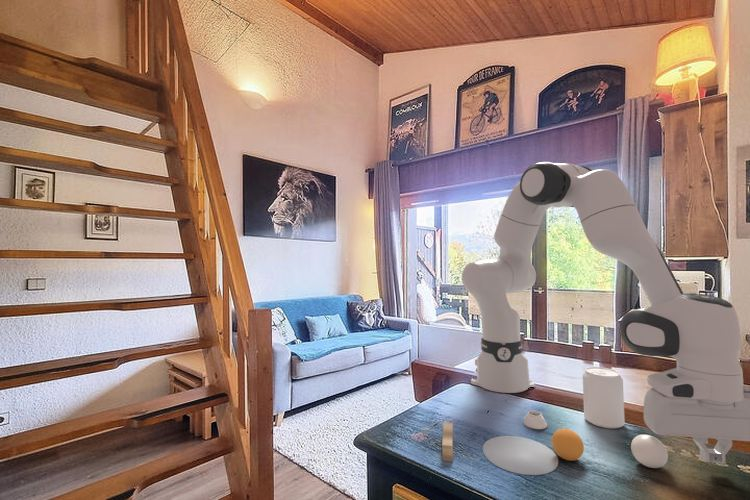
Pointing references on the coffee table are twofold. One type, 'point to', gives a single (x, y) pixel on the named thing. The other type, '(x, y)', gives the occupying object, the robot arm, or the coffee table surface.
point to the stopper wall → (447, 442)
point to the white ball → (649, 451)
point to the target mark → (520, 455)
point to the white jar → (535, 420)
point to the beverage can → (603, 397)
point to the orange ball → (567, 444)
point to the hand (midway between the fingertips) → (712, 461)
